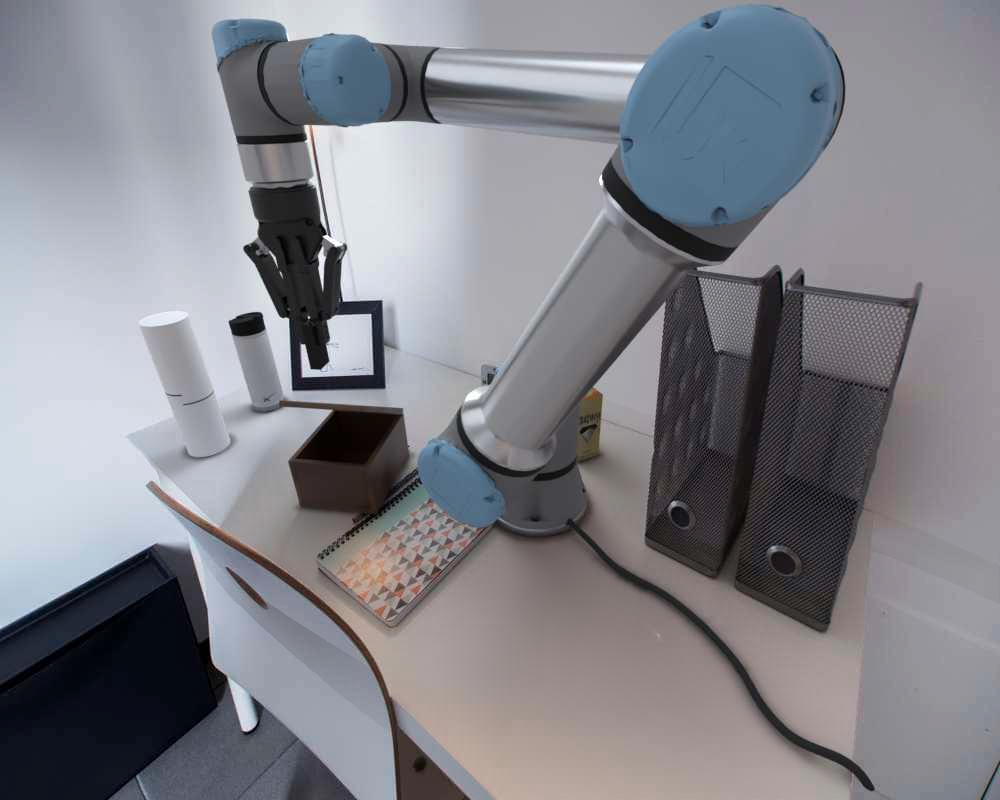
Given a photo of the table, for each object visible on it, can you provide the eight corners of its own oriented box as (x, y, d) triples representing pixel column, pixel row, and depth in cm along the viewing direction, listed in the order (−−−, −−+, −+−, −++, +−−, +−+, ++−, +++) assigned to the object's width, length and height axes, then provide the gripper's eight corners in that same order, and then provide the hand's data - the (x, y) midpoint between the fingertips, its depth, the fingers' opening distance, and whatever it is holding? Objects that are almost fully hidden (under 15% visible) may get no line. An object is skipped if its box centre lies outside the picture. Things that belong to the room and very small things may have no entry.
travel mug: (276, 413, 108) (250, 321, 98) (247, 411, 109) (219, 319, 99) (292, 398, 113) (269, 309, 103) (264, 396, 114) (239, 308, 105)
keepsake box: (376, 514, 80) (368, 468, 76) (300, 507, 82) (287, 461, 78) (409, 455, 94) (403, 412, 89) (342, 450, 96) (334, 408, 91)
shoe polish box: (598, 454, 92) (602, 394, 86) (574, 462, 90) (577, 401, 85) (582, 440, 96) (585, 382, 90) (559, 448, 94) (561, 389, 88)
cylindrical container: (201, 435, 101) (155, 311, 89) (237, 435, 101) (196, 310, 89) (180, 457, 95) (128, 326, 83) (218, 457, 95) (172, 326, 82)
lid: (362, 412, 73) (362, 405, 73) (278, 406, 75) (278, 400, 75) (403, 413, 89) (403, 408, 89) (333, 408, 91) (333, 403, 91)
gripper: (347, 178, 64) (374, 356, 75) (249, 179, 66) (290, 352, 78) (318, 187, 57) (353, 380, 69) (211, 187, 60) (262, 374, 71)
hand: (320, 365), depth 73 cm, fingers closed
